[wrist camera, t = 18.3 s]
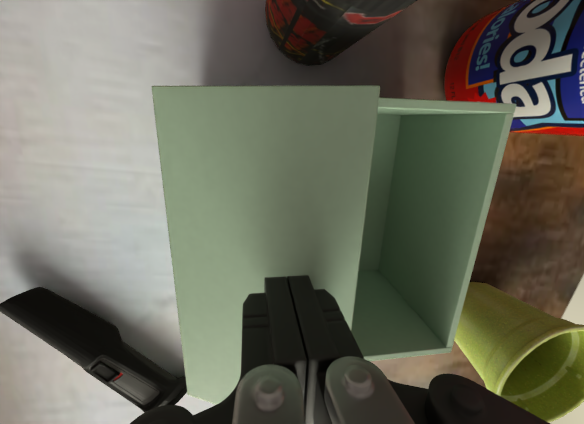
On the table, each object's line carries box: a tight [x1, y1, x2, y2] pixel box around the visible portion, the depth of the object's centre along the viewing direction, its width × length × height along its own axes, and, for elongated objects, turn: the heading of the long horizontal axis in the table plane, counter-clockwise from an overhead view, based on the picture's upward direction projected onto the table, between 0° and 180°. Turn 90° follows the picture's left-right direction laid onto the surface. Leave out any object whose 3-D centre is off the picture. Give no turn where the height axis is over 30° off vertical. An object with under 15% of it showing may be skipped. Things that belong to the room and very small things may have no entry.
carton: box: [351, 97, 516, 361], centre depth 18 cm, size 15×14×9 cm
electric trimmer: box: [0, 287, 187, 412], centre depth 22 cm, size 4×16×3 cm, turn 36°
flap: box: [152, 86, 380, 405], centre depth 11 cm, size 7×14×1 cm, turn 178°
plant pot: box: [454, 282, 584, 423], centre depth 24 cm, size 9×9×9 cm
